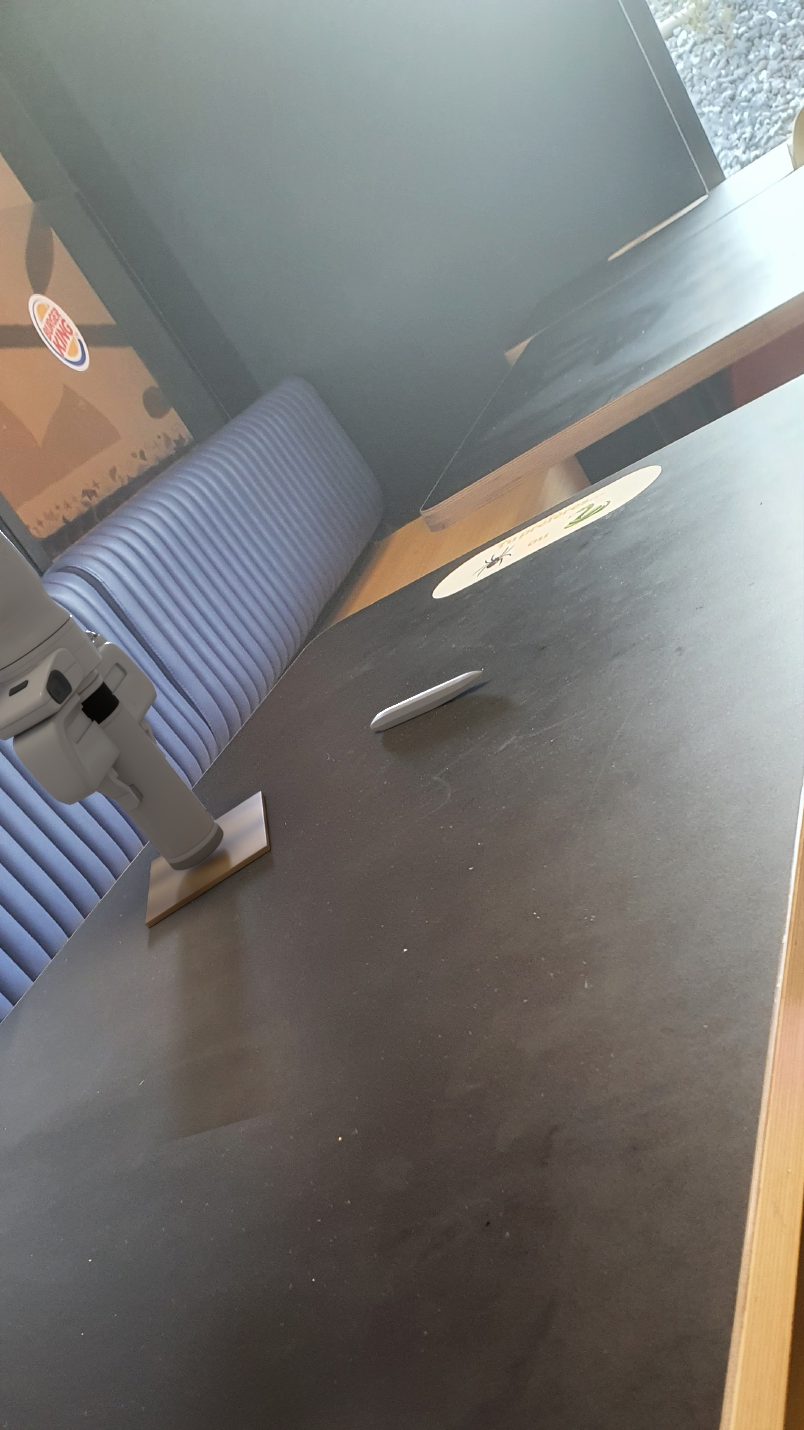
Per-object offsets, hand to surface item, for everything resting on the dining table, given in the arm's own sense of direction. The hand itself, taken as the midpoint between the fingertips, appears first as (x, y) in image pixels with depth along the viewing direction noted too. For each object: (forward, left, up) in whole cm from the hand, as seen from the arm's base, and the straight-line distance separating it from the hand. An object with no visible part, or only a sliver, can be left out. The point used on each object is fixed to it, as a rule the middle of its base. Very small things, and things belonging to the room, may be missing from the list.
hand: (147, 785), depth 112 cm
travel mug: (0, 0, -9) cm, 9 cm away
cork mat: (0, 0, -10) cm, 10 cm away
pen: (+25, +10, -10) cm, 29 cm away
